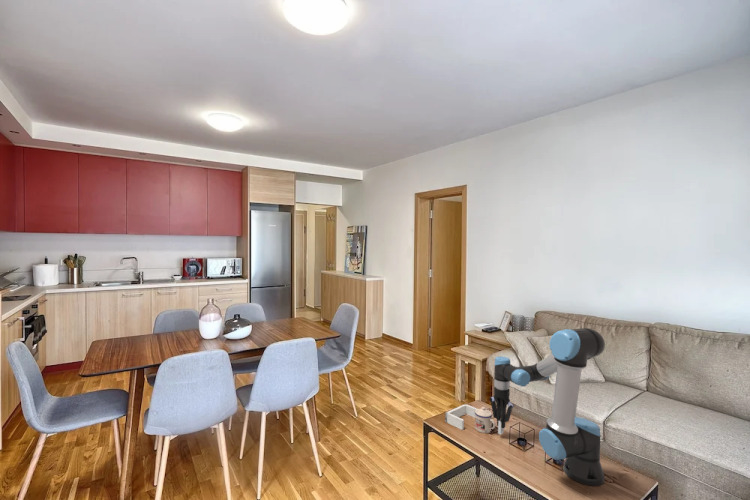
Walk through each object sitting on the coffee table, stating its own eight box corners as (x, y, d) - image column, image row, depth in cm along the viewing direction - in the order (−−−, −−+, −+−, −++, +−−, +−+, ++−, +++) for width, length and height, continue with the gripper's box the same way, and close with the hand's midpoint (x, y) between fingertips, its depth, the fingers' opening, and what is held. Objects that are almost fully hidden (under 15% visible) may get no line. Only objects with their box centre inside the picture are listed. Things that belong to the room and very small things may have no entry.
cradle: (482, 419, 203) (482, 410, 203) (462, 429, 190) (462, 420, 190) (465, 412, 211) (465, 403, 211) (444, 421, 199) (445, 412, 199)
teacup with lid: (470, 427, 193) (471, 406, 193) (481, 423, 198) (482, 402, 198) (489, 437, 183) (489, 415, 183) (500, 432, 188) (500, 410, 188)
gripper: (517, 389, 181) (516, 436, 181) (494, 382, 191) (493, 426, 191) (509, 393, 176) (508, 441, 176) (486, 385, 186) (485, 430, 186)
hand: (500, 433), depth 184 cm, fingers closed
